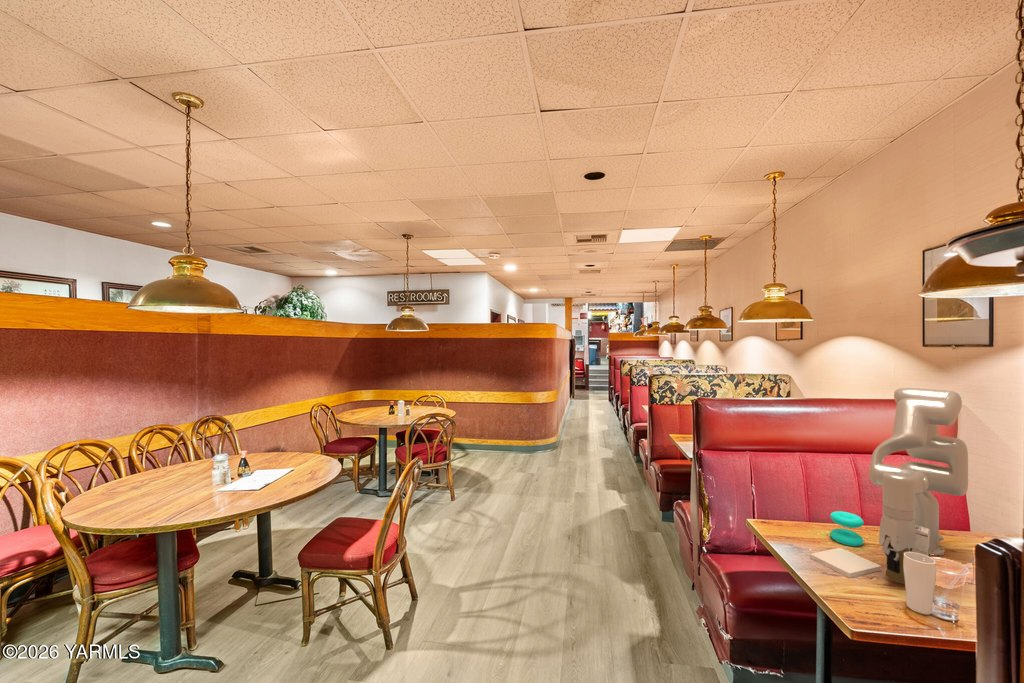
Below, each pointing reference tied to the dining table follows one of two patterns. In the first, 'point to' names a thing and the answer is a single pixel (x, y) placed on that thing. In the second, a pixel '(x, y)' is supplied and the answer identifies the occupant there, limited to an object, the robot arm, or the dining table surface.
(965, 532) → the dining table surface
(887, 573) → the cork
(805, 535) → the dining table surface
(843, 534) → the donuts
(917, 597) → the white tall cup
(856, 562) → the ceramic tile
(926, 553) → the syrup box
